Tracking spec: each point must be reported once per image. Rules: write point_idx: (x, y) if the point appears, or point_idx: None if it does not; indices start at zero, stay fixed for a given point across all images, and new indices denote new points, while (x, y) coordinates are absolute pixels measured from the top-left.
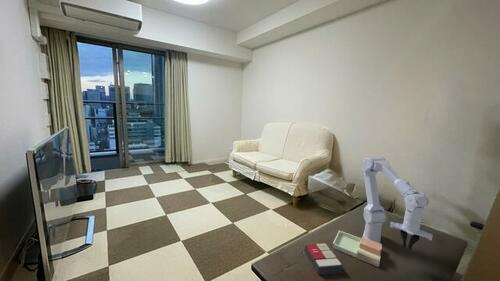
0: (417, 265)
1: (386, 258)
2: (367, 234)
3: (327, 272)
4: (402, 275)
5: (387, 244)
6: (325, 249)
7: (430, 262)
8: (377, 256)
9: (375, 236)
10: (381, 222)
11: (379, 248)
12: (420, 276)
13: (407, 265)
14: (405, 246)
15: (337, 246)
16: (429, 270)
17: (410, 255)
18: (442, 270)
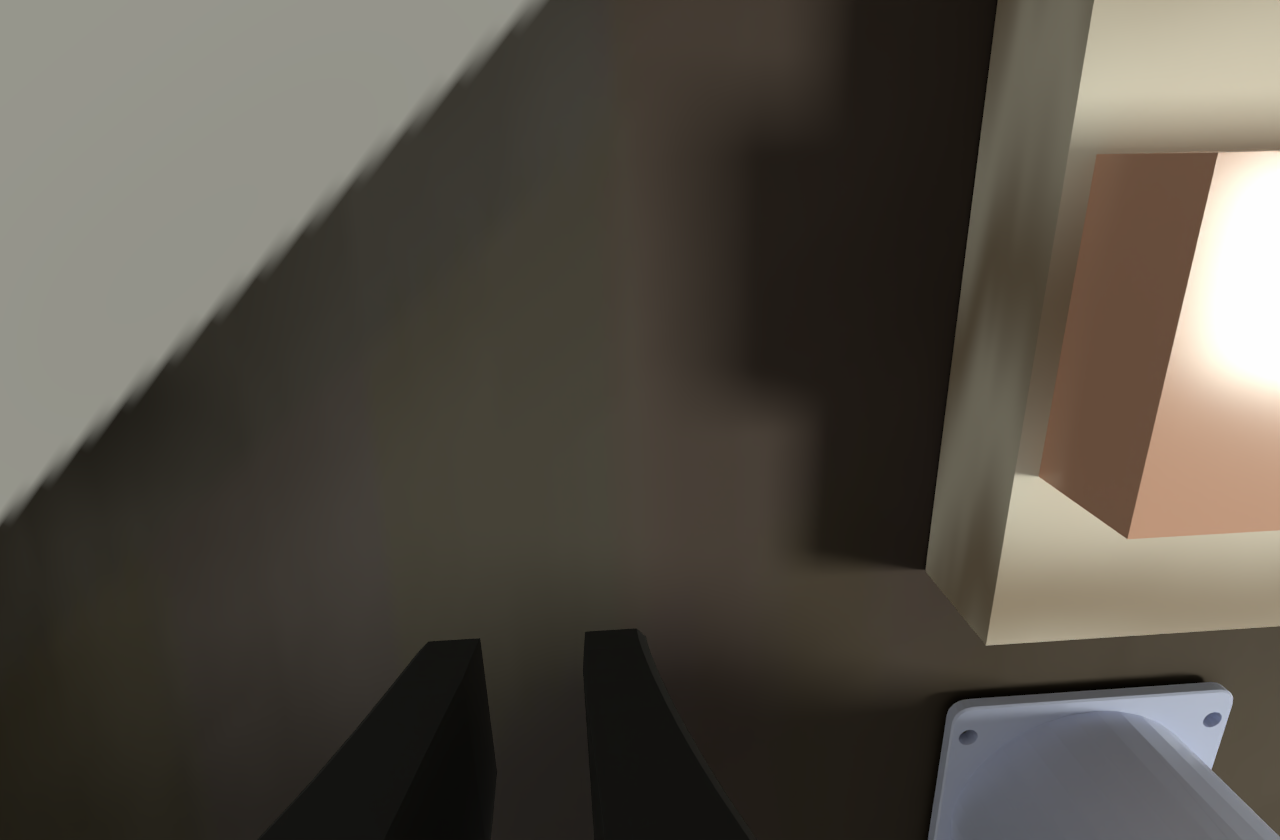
0: (359, 553)
1: (844, 378)
2: (1220, 784)
3: None
4: (559, 19)
5: (819, 782)
6: None
7: (205, 768)
8: (1144, 81)
9: (1093, 810)
10: None
11: (1207, 281)
12: (271, 256)
13: (501, 433)
14: (586, 657)
15: None
16: (179, 552)
17: None
18: (23, 692)
